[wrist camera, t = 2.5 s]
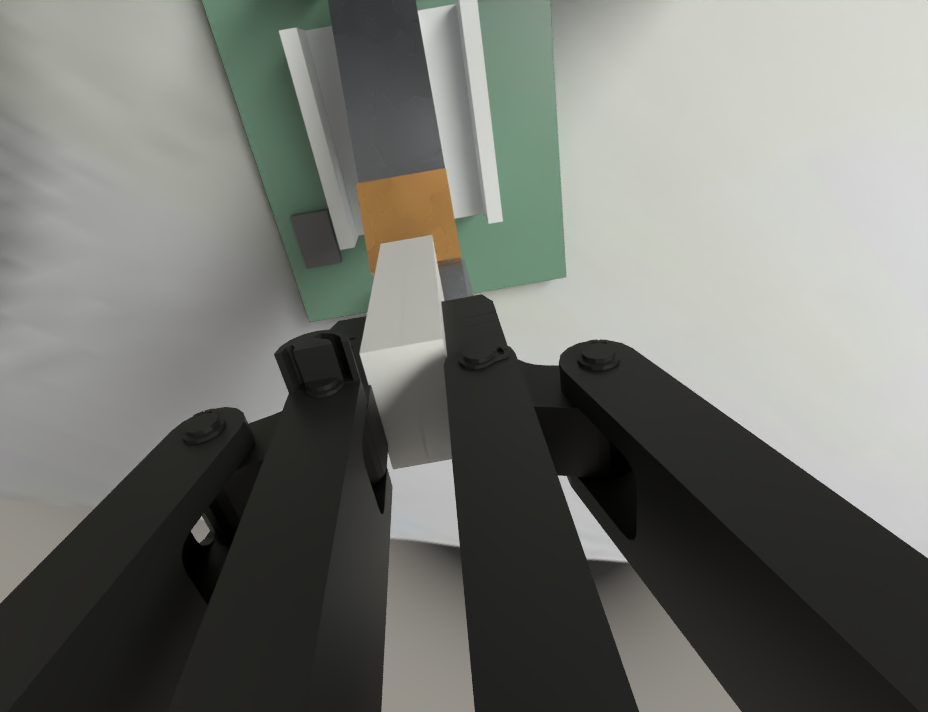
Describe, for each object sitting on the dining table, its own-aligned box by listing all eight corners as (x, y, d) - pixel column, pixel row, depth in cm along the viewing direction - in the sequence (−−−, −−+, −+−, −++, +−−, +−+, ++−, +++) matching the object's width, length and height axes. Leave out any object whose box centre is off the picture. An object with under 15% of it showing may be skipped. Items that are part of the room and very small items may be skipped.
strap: (314, -64, 19) (297, -111, 18) (408, -80, 19) (402, -130, 18) (379, 325, 19) (369, 319, 17) (477, 308, 19) (478, 300, 17)
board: (180, -90, 23) (38, -184, 14) (534, -152, 23) (607, -285, 14) (312, 314, 33) (276, 402, 24) (561, 270, 33) (614, 343, 24)
